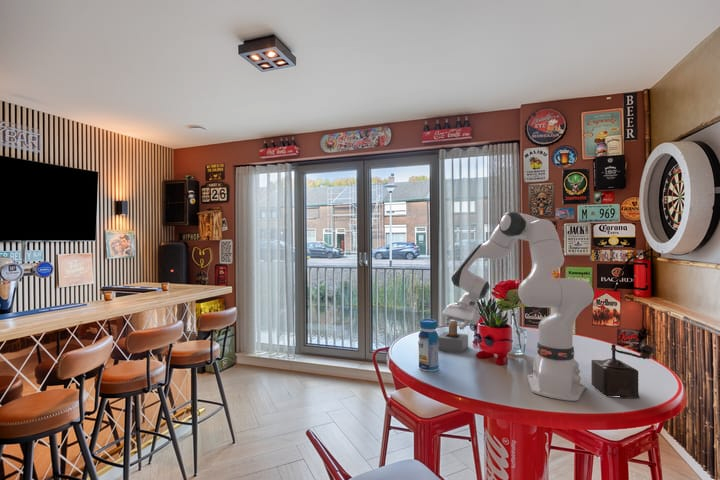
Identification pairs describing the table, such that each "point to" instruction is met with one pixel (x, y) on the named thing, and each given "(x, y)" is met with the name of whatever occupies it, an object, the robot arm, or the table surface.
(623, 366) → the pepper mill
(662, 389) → the table surface
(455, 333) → the walnut peg
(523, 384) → the table surface
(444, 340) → the charcoal socket
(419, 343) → the beverage bottle
